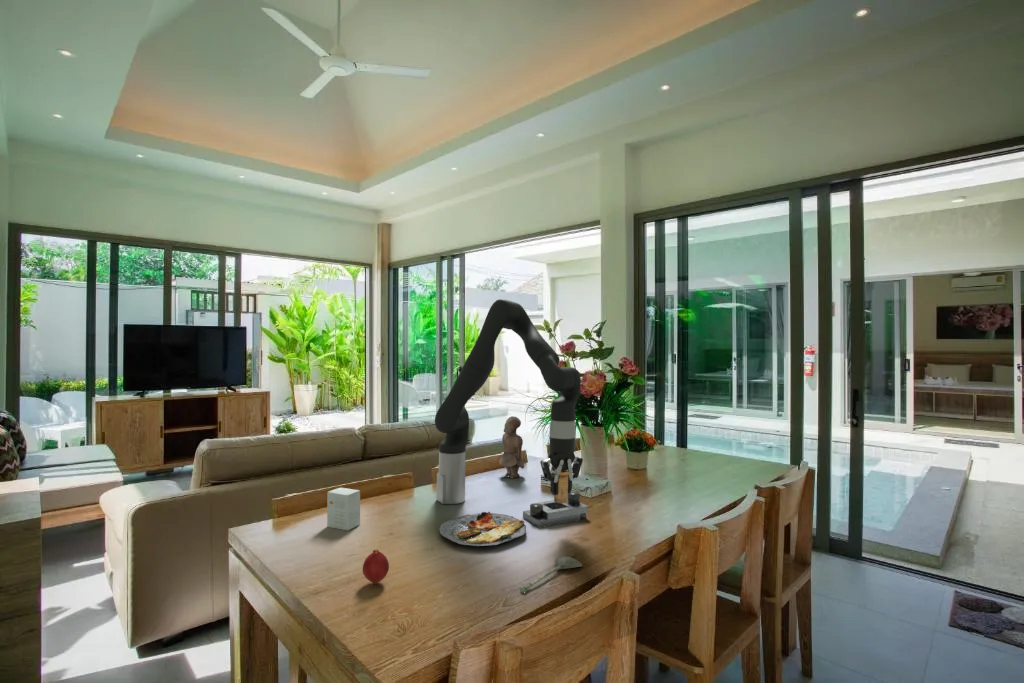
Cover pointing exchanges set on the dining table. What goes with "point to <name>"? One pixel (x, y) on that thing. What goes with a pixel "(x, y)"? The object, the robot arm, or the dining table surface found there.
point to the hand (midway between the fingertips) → (561, 493)
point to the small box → (343, 508)
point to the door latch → (556, 511)
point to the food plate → (483, 529)
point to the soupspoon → (555, 569)
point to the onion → (375, 567)
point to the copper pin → (562, 487)
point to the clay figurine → (512, 447)
